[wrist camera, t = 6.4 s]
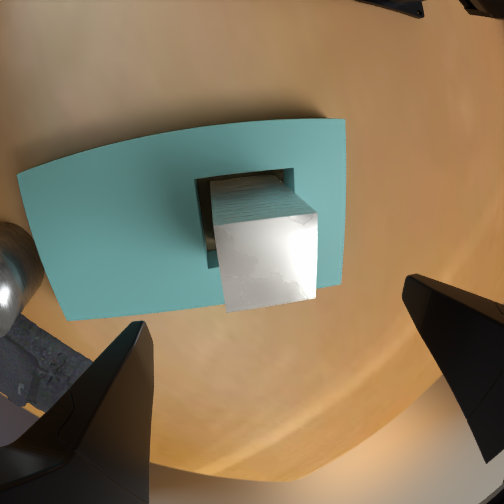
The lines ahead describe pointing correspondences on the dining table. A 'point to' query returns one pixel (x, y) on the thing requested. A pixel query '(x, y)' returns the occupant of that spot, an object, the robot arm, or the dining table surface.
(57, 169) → the bore block
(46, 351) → the dark slate chunk
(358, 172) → the dining table surface
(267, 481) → the dining table surface
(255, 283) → the square bit
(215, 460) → the dining table surface
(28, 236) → the round bit
